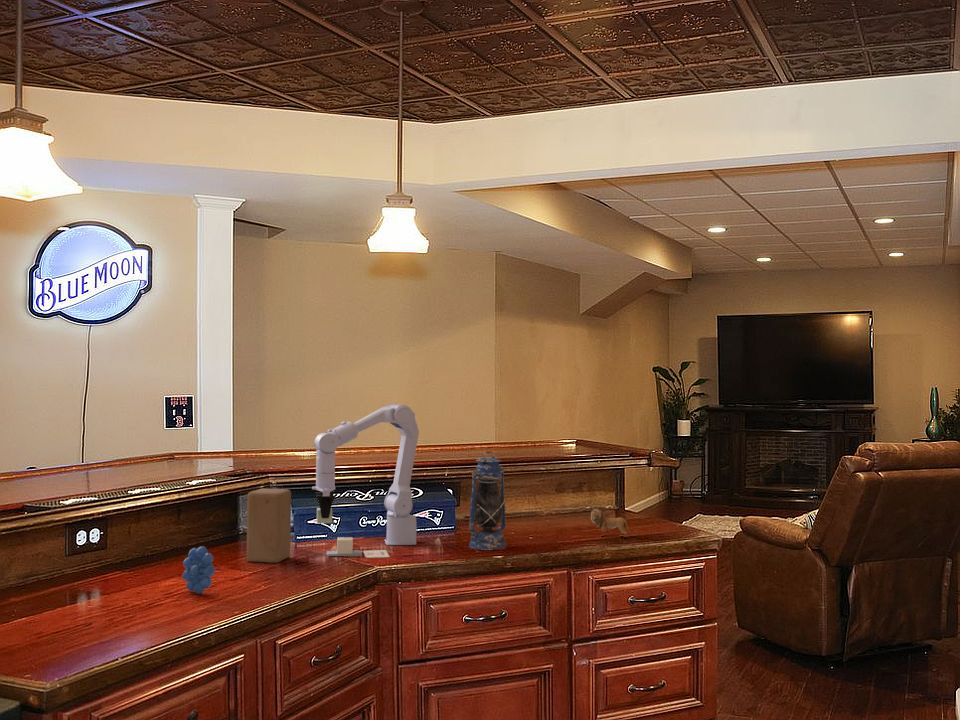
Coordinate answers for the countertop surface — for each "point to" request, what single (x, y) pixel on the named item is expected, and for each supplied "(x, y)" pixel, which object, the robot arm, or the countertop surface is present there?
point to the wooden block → (268, 525)
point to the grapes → (198, 570)
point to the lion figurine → (608, 521)
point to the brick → (344, 545)
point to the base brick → (334, 553)
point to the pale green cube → (323, 520)
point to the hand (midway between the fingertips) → (324, 516)
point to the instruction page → (376, 554)
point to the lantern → (487, 505)
